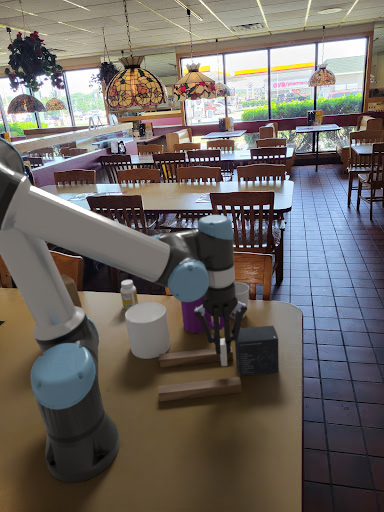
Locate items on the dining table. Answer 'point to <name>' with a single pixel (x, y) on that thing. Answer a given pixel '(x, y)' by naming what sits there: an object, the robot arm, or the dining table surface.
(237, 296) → the cup
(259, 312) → the dining table surface
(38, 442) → the dining table surface
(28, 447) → the dining table surface
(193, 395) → the parallel wooden rails
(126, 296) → the supplement bottle
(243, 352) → the box
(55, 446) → the robot arm
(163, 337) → the cup
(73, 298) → the block
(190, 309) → the mug
